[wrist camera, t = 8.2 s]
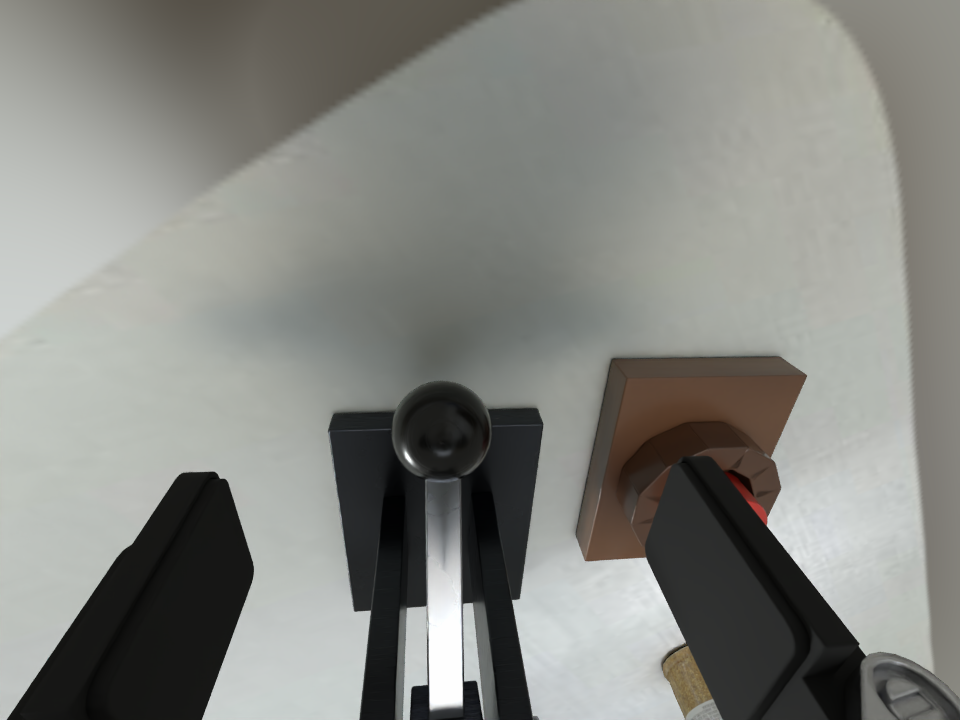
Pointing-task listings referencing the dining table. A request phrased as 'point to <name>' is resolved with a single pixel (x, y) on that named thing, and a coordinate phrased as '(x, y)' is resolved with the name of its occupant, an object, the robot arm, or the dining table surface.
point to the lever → (443, 531)
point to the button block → (680, 438)
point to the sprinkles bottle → (690, 687)
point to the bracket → (402, 552)
